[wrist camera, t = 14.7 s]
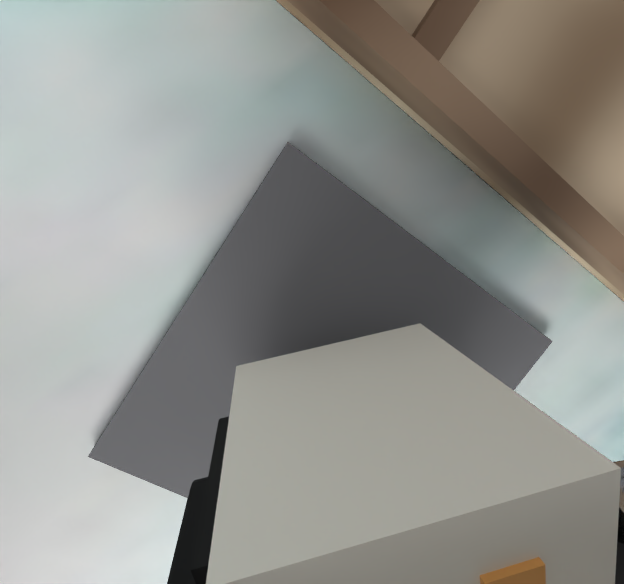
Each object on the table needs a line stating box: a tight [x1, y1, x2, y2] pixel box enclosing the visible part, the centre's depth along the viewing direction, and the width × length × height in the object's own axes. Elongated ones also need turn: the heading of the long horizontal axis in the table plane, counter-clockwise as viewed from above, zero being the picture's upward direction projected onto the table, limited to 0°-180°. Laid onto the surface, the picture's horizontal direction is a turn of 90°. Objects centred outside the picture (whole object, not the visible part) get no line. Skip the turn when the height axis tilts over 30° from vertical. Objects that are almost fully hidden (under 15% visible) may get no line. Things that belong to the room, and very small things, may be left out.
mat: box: [88, 142, 552, 498], centre depth 12 cm, size 11×11×1 cm
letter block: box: [206, 323, 621, 584], centre depth 7 cm, size 5×5×6 cm
